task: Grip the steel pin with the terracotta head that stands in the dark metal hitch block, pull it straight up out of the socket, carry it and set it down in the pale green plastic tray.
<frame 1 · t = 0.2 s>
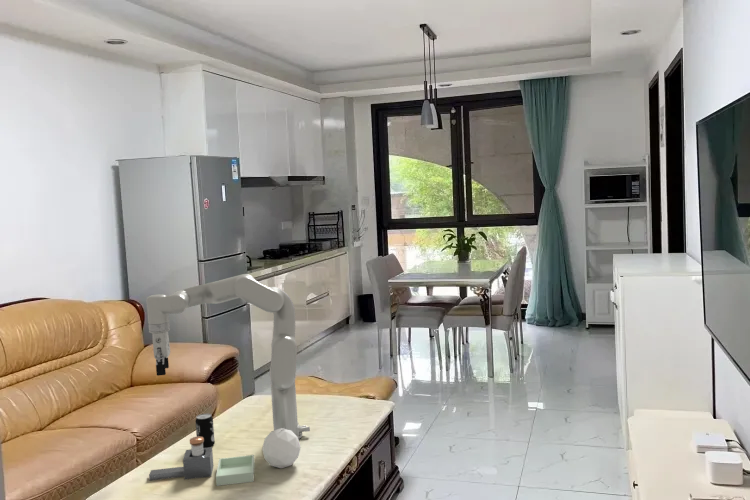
hand: (162, 371, 251), 31 cm above the table, tool pointing down, fingers open, 9 cm apart
beverage can: (206, 446, 256), on the table
hitch block: (199, 472, 232), on the table
geodesic sphere: (282, 466, 234), on the table
pin: (198, 455, 231), in the hitch block
tray: (236, 474, 229), on the table
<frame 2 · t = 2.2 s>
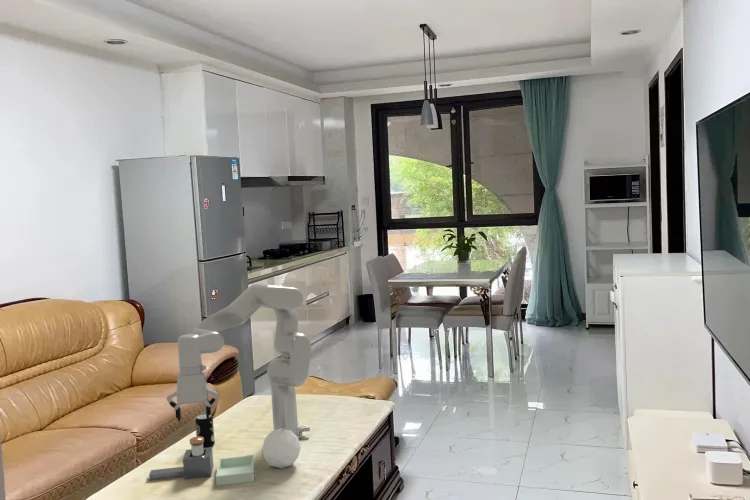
hand: (193, 418, 230), 20 cm above the table, tool pointing down, fingers open, 9 cm apart
nothing on the table moved.
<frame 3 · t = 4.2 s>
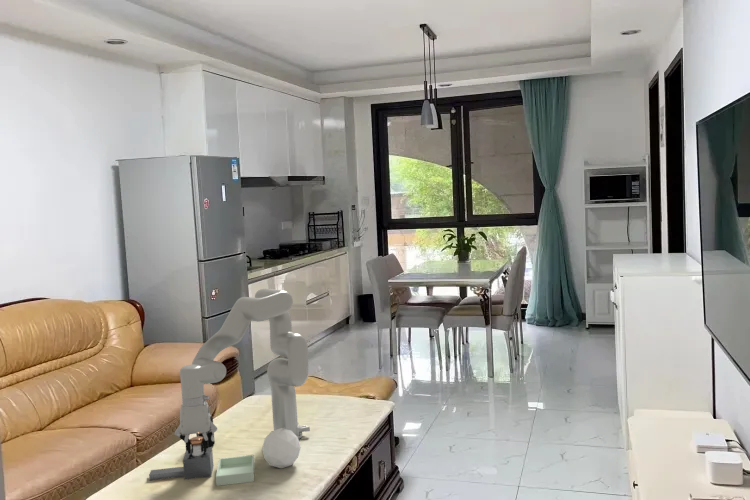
hand: (197, 450, 231), 8 cm above the table, tool pointing down, fingers closed on pin, 4 cm apart
pin: (197, 455, 231), in the hitch block, touching gripper
everything else where it was.
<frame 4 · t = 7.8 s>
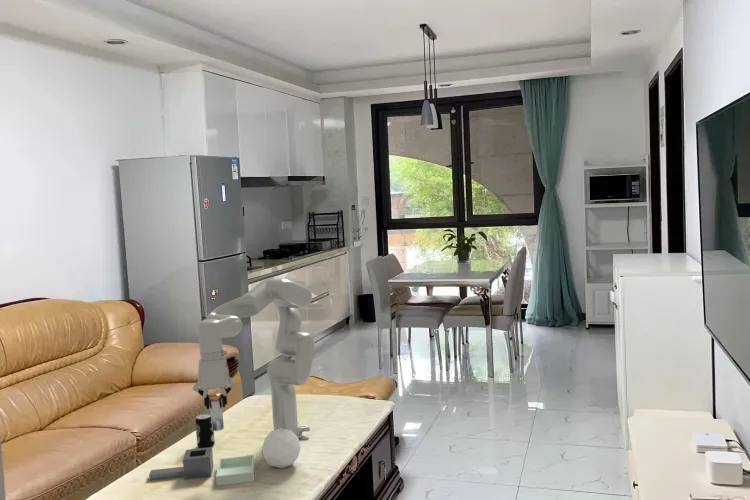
hand: (216, 406, 228), 24 cm above the table, tool pointing down, fingers closed on pin, 4 cm apart
pin: (216, 411, 228), point 22 cm above the table, touching gripper
everything else where it was.
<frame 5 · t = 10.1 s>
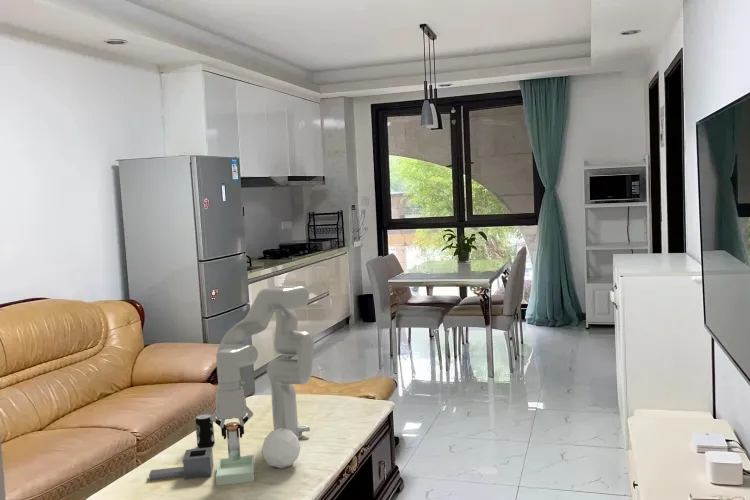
hand: (233, 436, 227), 14 cm above the table, tool pointing down, fingers closed on pin, 4 cm apart
pin: (233, 441, 228), point 12 cm above the table, touching gripper
everything else where it was.
when the fingers open (9 cm above the table, at t = 11.7 s): pin stays where it is, resting on tray.
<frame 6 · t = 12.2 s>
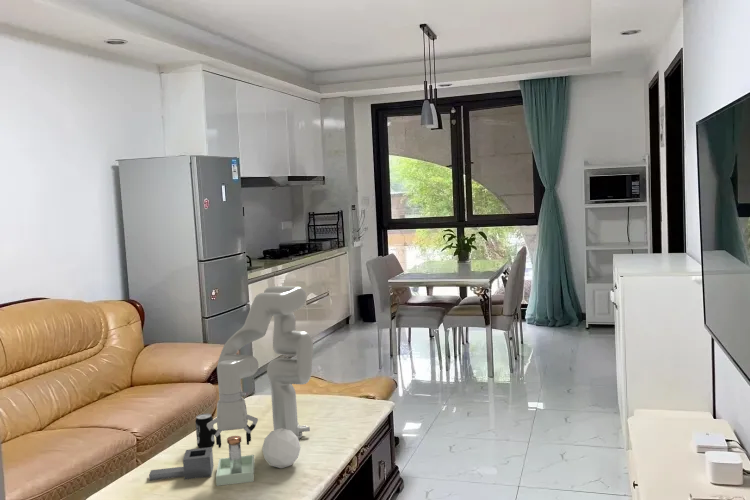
hand: (234, 444, 228), 10 cm above the table, tool pointing down, fingers open, 9 cm apart
pin: (235, 455, 228), in the tray, point 7 cm above the table
everything else where it was.
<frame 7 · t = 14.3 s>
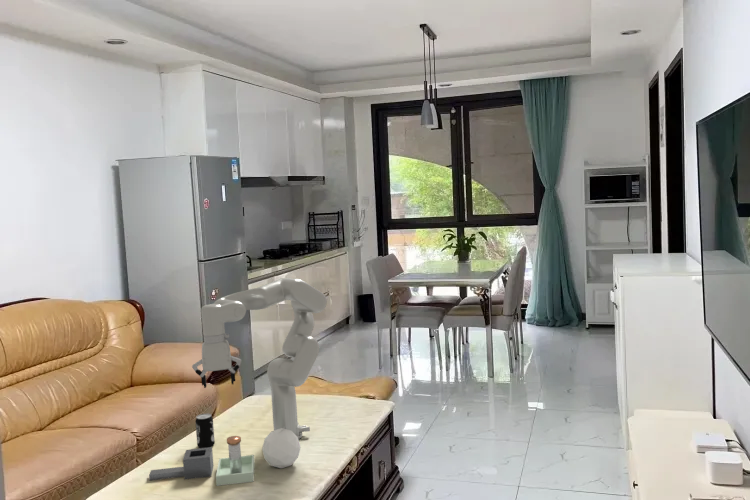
hand: (219, 385, 238), 28 cm above the table, tool pointing down, fingers open, 9 cm apart
nothing on the table moved.
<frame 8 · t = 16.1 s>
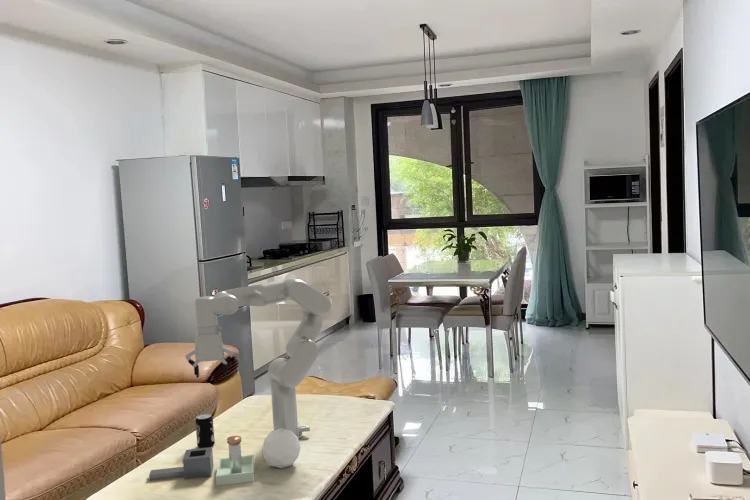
hand: (211, 375, 245), 30 cm above the table, tool pointing down, fingers open, 9 cm apart
nothing on the table moved.
at the end: pin inside the target area on the tray (0.1 cm from its centre), point 6.7 cm above the tray's base; pin touching tray; the gripper is holding nothing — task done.
